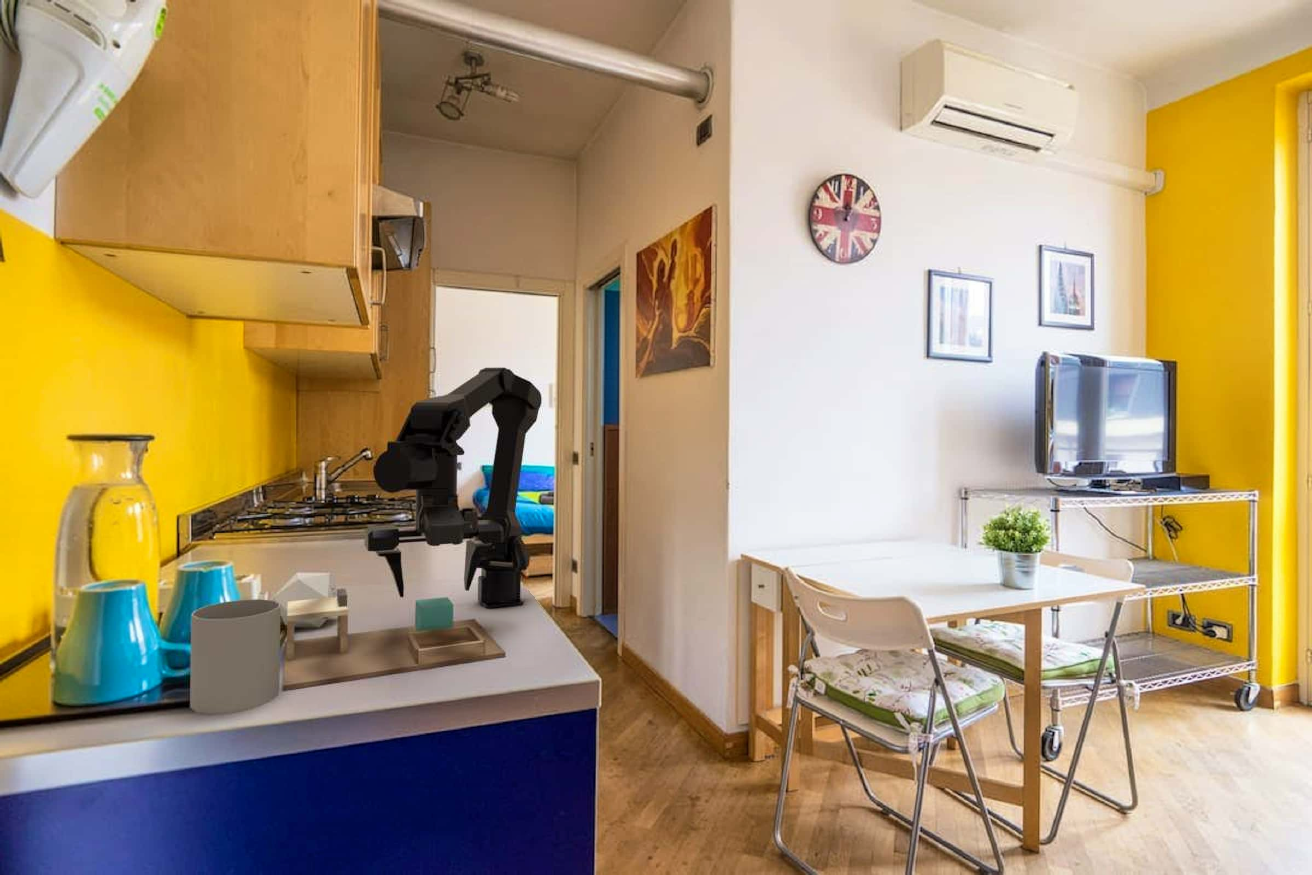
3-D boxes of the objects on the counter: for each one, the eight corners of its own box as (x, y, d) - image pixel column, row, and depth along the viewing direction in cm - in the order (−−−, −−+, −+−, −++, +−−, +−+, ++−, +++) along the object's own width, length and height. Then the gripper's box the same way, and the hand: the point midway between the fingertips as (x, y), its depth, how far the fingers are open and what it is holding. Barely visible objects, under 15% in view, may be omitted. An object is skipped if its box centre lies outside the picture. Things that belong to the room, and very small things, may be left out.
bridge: (343, 635, 93) (344, 585, 93) (347, 652, 86) (348, 598, 86) (287, 642, 89) (287, 590, 89) (286, 660, 83) (287, 603, 83)
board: (474, 622, 103) (474, 607, 103) (505, 656, 88) (505, 638, 88) (284, 646, 90) (285, 628, 90) (283, 690, 75) (283, 669, 75)
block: (446, 626, 98) (446, 597, 98) (452, 635, 94) (453, 604, 94) (415, 630, 96) (415, 600, 96) (420, 639, 92) (420, 607, 92)
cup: (296, 687, 76) (297, 602, 76) (236, 717, 68) (238, 622, 68) (235, 680, 78) (236, 597, 78) (170, 708, 70) (172, 615, 70)
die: (293, 641, 94) (339, 584, 97) (249, 608, 96) (296, 553, 98) (320, 644, 102) (361, 591, 105) (278, 613, 103) (321, 562, 106)
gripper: (373, 494, 84) (371, 615, 84) (515, 490, 93) (513, 599, 93) (364, 486, 93) (363, 595, 93) (494, 483, 102) (492, 582, 103)
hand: (434, 593), depth 95 cm, fingers open, 9 cm apart
